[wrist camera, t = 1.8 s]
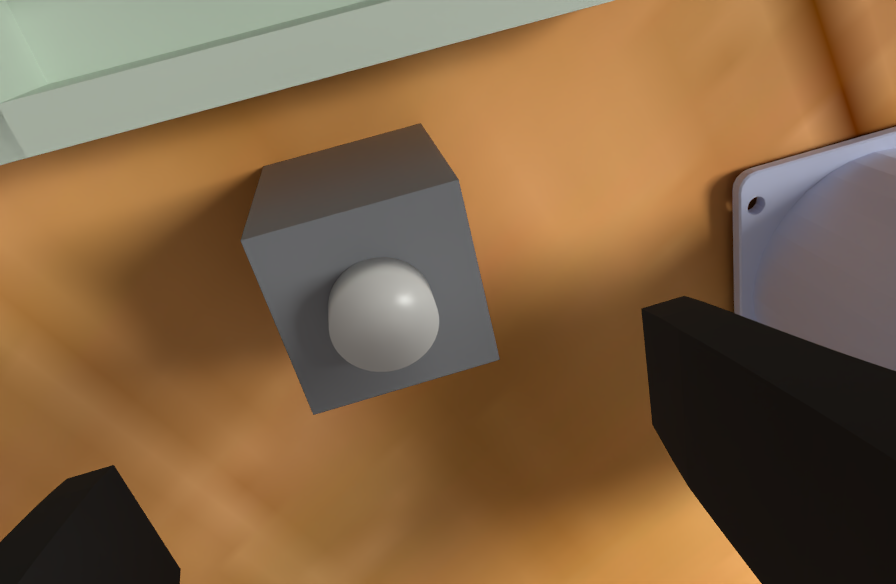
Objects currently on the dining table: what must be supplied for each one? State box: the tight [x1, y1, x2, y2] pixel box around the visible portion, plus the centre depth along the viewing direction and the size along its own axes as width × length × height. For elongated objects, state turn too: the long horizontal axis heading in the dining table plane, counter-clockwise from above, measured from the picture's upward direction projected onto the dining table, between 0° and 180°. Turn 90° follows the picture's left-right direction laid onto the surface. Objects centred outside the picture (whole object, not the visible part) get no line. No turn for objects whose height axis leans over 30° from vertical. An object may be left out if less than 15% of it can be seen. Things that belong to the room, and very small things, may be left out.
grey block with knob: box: [241, 123, 500, 415], centre depth 14 cm, size 4×4×6 cm
